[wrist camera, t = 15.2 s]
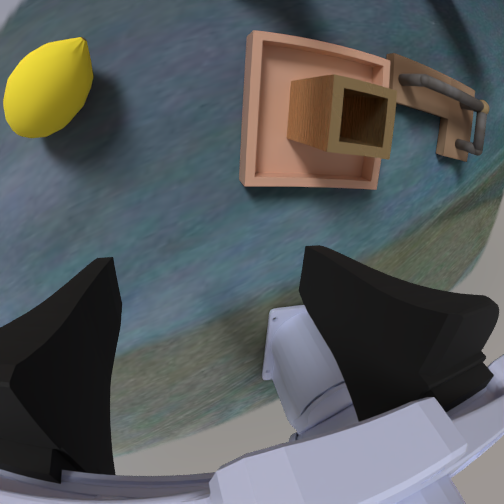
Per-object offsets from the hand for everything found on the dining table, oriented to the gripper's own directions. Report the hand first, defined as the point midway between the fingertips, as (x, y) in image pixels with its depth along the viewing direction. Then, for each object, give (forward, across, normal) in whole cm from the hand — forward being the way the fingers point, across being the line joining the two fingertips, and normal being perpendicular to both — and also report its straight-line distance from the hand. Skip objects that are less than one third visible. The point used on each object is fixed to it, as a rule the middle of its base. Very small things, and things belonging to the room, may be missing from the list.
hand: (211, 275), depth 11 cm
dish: (+10, -8, -6) cm, 14 cm away
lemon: (+11, +9, -8) cm, 16 cm away
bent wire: (+10, -19, -8) cm, 23 cm away
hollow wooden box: (+10, -8, -6) cm, 14 cm away
